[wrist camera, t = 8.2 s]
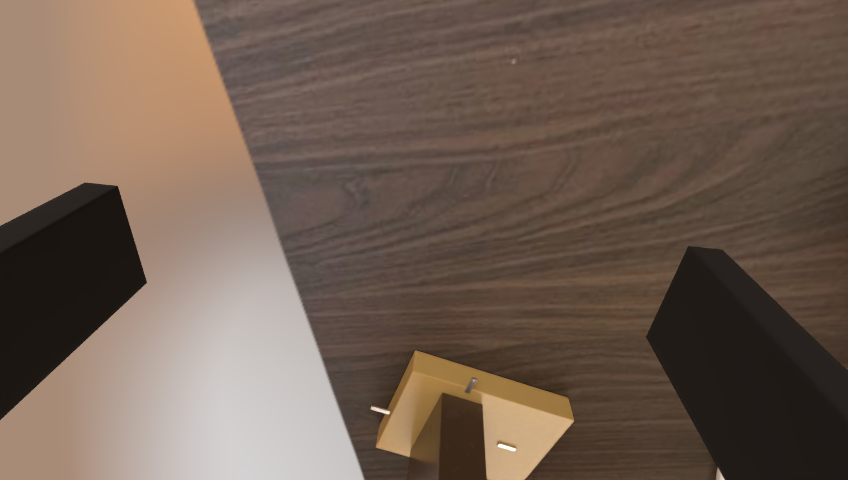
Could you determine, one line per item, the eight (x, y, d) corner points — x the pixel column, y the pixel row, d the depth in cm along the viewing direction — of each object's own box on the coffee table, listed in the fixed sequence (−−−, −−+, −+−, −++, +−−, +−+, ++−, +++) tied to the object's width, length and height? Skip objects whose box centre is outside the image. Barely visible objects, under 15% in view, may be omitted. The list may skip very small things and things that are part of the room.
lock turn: (442, 391, 29) (437, 500, 23) (482, 403, 29) (489, 514, 23) (410, 449, 33) (398, 557, 26) (447, 460, 33) (444, 569, 27)
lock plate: (357, 427, 35) (351, 452, 33) (398, 332, 29) (394, 354, 28) (509, 471, 36) (512, 497, 35) (576, 388, 31) (583, 413, 29)
